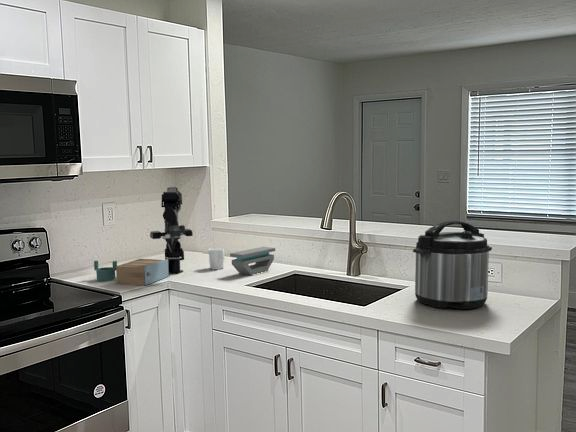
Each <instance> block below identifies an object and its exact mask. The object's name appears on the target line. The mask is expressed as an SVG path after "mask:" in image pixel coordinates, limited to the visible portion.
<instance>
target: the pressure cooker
mask: <svg viewBox="0 0 576 432" xmlns="http://www.w3.org/2000/svg"><path fill="white" fill-rule="evenodd" d="M452 225H460V226H461V227H462V229H463V231H445V232H444V231H443V229H444V228H445V227H447V226H452ZM442 231H443V232H442ZM492 250H493V247H491V246H489V245H488V239H487V238H486V237H485V233H482V232H480V229H478V228H477V227H476V226H474V225H473V224H471V223H468V222H465V221H461V220H449V221H448V220H447V221H443V222H440V223H437V224H435V225H433V226H431V227H429V228H427V229H426V230H425V231H424V234H421V235H419V236H418V237H417V242H416V246H415V248H413V250H412V252H413V253H415V272H414V273H415V274H414V275H415V277H414V279H415V282H414V283H415V284H414V292H415V293H414V295H415V298H416V299H417V301H418V302H420V303H422V304H425V305H429V306H432V307H436V308H442V309H446V308H448V307H449V308H453V309H461V310H462V309H463V310H467V309H476V308H480V307H482V306H484V305H485V303H486V302H487V300H488V291H489V290H488V289H489V285H488V284H489V263H490V262H489V261H490V260H489V259H490V257H489V256H490V255H489V254H490V252H491V251H492Z"/></svg>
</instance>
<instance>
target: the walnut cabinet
mask: <svg viewBox="0 0 576 432" xmlns="http://www.w3.org/2000/svg"><path fill="white" fill-rule="evenodd" d="M163 260H164V259H153V258H138V259H135V260H132V261H128V262H125V263H122V264H119V265H117V266H116V270H115V278H116V285H127V286H128V285H130V286H131V285H133V286H142V287H143V286H144V287H145V286H146V285H145V274H144V267H145V266H148V265H151V264H154V263H157V262H160V261H163Z"/></svg>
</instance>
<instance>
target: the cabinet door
mask: <svg viewBox="0 0 576 432" xmlns="http://www.w3.org/2000/svg"><path fill="white" fill-rule="evenodd" d="M162 260H163V261H160V262H157V263H154V264H151V265H148V266H145V267H144V274H145V286H148V285H150V284H152V283H155V282H157V281H160V280H162V279H165V278H167V277H169V275H170V273H169V270H168V259H166V260H165V259H162Z"/></svg>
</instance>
